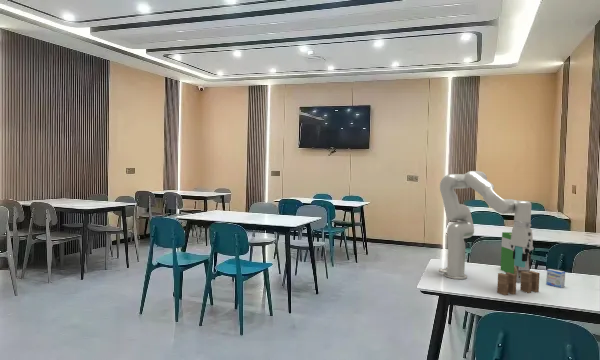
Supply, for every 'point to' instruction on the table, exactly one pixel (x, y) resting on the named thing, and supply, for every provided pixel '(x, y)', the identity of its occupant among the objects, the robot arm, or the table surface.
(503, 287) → the domino
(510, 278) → the domino
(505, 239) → the hardback book
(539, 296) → the table surface
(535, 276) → the domino
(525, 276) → the domino
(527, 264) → the coffee box
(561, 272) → the medicine box
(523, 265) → the gap domino
